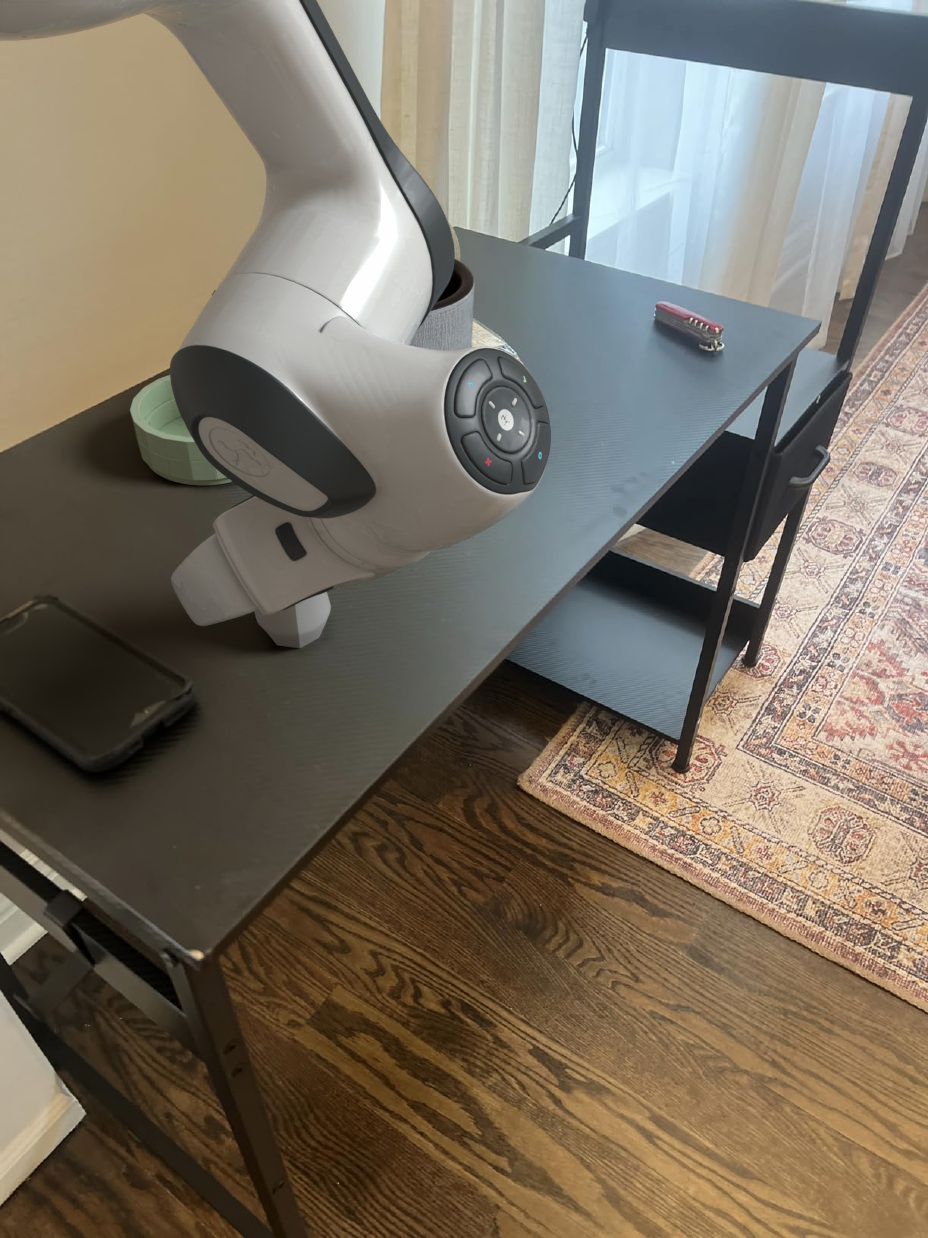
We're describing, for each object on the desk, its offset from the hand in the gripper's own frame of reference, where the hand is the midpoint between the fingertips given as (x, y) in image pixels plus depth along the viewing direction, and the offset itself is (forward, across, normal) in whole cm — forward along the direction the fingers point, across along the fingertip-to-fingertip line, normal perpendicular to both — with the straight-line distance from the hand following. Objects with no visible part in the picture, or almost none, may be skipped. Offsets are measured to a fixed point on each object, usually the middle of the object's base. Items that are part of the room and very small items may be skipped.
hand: (281, 555), depth 68 cm
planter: (+18, -26, -7) cm, 32 cm away
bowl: (+23, -10, -13) cm, 28 cm away
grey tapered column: (+5, 0, +6) cm, 7 cm away
